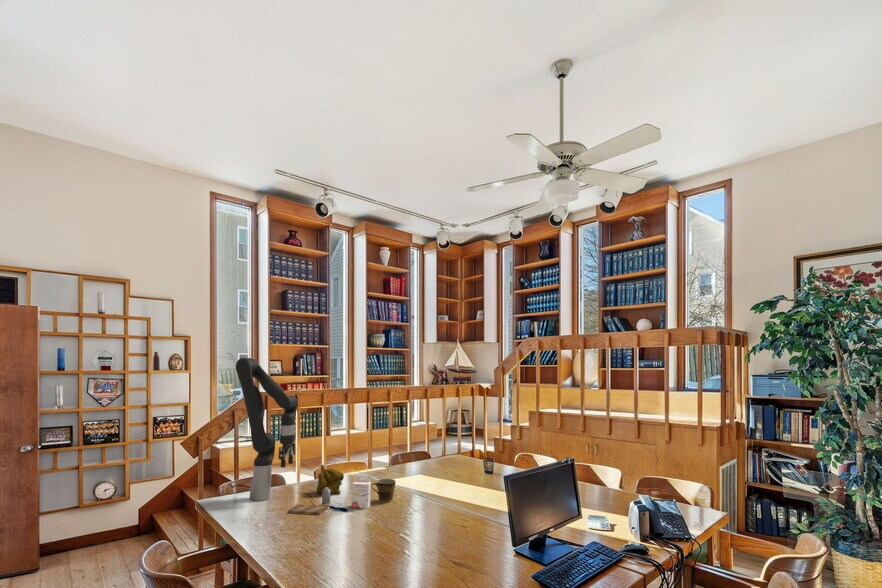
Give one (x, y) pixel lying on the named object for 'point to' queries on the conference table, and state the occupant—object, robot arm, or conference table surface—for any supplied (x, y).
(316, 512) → the walnut board
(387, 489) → the ceramic cup
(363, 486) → the ink cartridge box
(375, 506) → the conference table surface
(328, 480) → the gourd
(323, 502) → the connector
